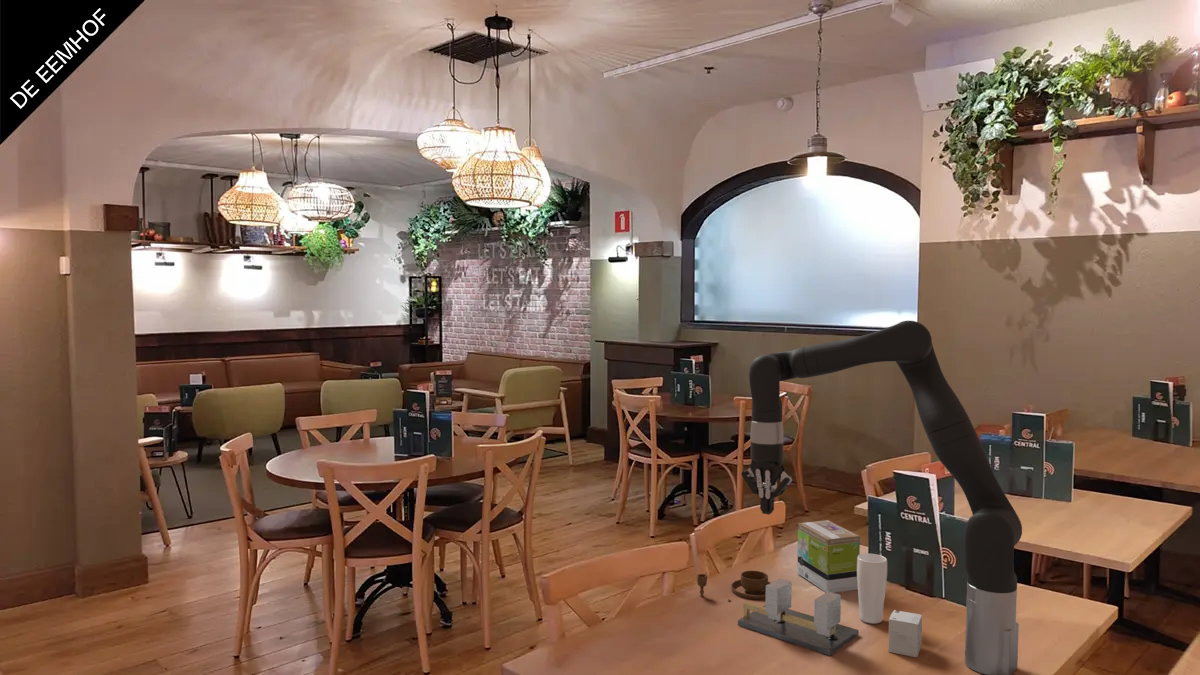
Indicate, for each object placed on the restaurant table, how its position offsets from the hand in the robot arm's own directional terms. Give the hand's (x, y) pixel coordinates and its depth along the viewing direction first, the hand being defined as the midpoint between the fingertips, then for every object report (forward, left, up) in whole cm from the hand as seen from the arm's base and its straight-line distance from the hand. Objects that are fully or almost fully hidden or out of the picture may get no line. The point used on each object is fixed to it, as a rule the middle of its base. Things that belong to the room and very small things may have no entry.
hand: (767, 513), depth 186 cm
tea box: (+1, -33, -26) cm, 42 cm away
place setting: (+15, -12, -27) cm, 33 cm away
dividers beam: (-8, +3, -24) cm, 26 cm away
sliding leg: (-5, +3, -24) cm, 25 cm away
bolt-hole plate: (-8, 0, -26) cm, 27 cm away
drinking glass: (-18, -17, -26) cm, 36 cm away
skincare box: (-30, -7, -26) cm, 41 cm away
